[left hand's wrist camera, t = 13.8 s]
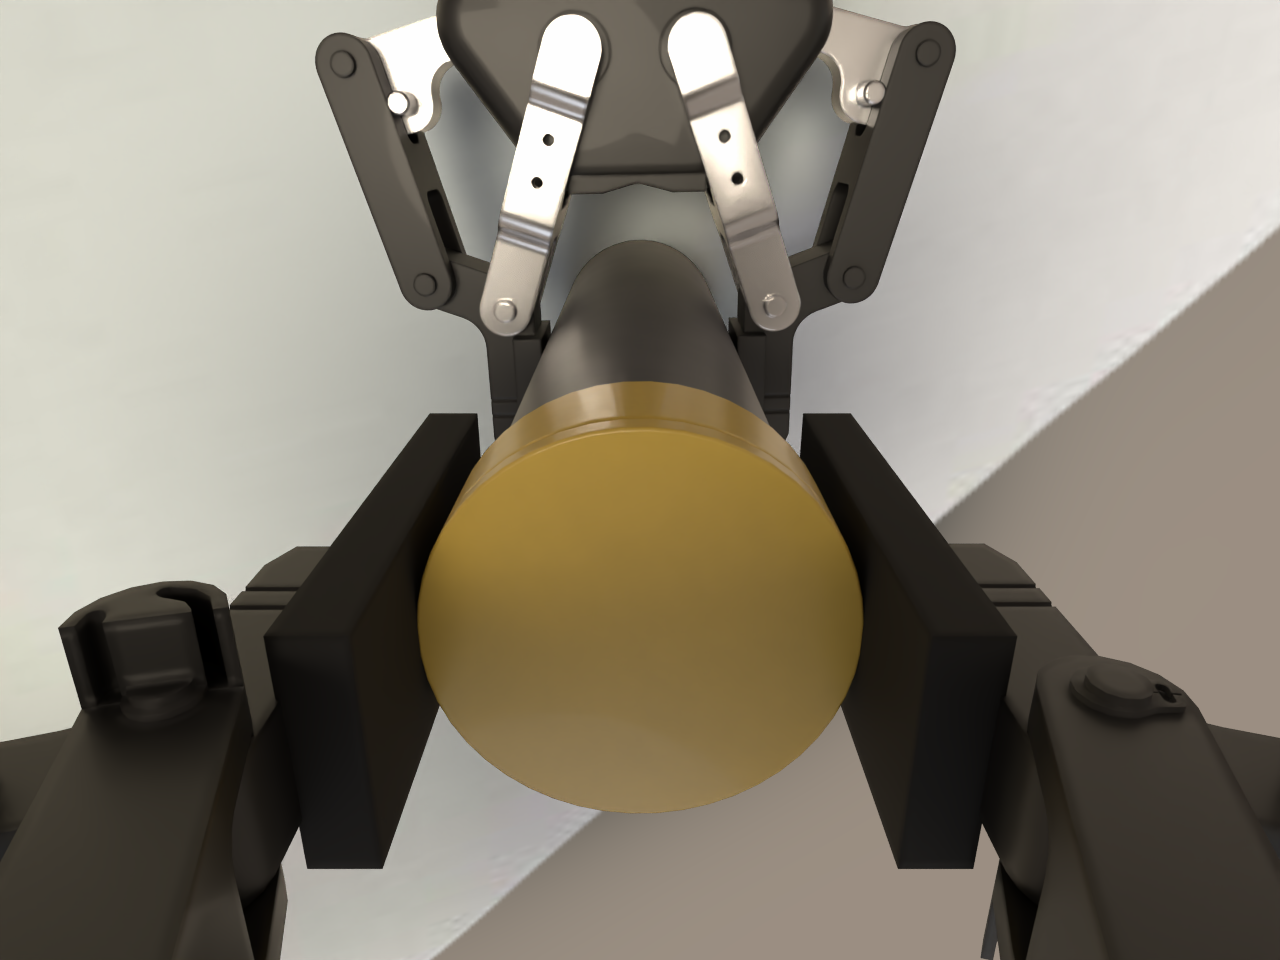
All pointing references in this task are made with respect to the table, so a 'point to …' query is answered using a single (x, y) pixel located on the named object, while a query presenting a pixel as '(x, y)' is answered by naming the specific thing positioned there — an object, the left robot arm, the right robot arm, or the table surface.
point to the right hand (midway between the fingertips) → (643, 463)
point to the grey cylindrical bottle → (640, 330)
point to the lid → (640, 601)
